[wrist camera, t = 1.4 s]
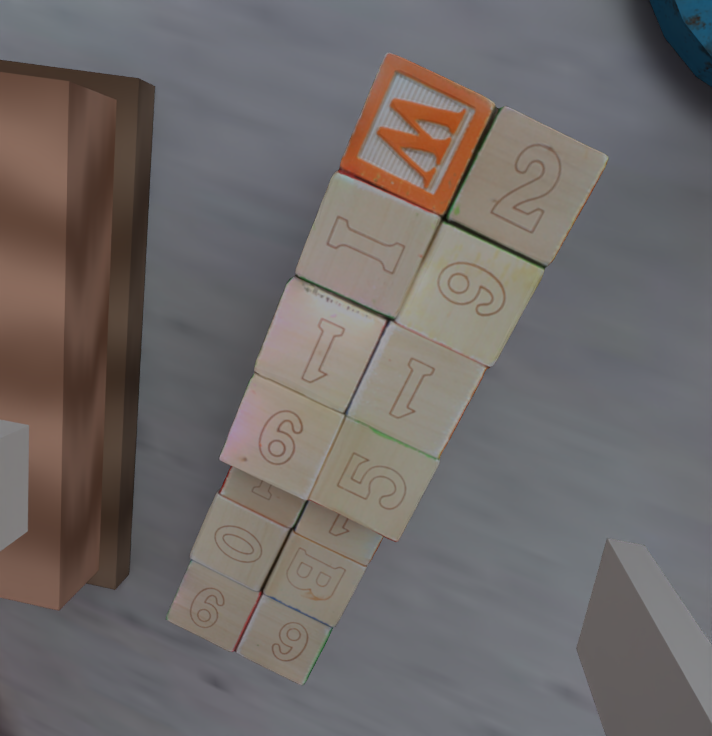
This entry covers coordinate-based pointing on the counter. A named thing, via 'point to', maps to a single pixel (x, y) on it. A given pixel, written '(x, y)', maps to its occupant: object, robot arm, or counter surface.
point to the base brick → (72, 317)
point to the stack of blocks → (376, 355)
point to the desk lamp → (688, 32)
